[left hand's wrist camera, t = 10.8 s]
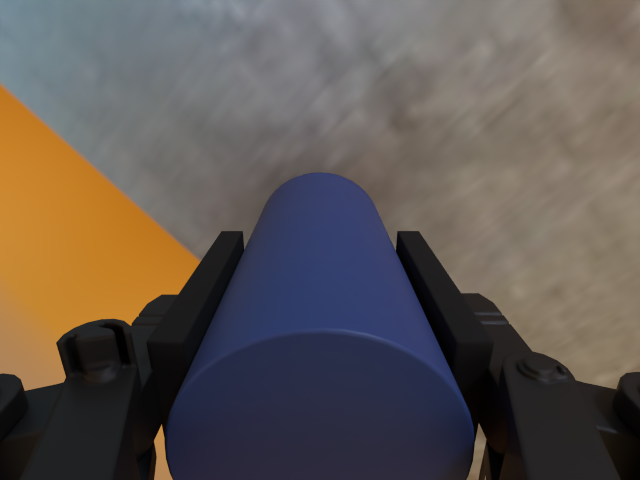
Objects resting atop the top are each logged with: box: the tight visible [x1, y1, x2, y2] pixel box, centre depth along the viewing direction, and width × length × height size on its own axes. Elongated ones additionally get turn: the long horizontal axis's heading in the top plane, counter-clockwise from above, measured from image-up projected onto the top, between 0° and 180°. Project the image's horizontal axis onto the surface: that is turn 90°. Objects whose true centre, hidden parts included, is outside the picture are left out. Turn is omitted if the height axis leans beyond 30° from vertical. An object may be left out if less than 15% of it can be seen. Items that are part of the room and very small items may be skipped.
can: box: [165, 173, 475, 480], centre depth 13 cm, size 6×6×12 cm
